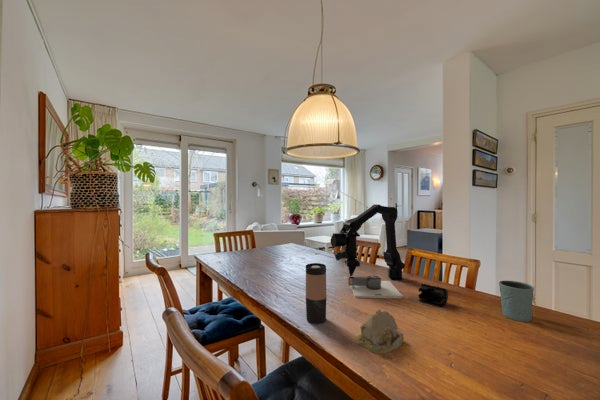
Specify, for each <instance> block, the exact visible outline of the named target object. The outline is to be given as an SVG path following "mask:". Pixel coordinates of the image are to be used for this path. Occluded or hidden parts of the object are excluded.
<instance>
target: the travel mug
mask: <svg viewBox="0 0 600 400" xmlns="http://www.w3.org/2000/svg"><path fill="white" fill-rule="evenodd" d="M305 309H306V310H305V313H306V320H307V322H308V323H309V324H312V325H320V324H321V325H322V324H324V323H325V322H326V320H327V266H326V264H324V263H319V262H313V263H308V264H306V265H305Z"/></svg>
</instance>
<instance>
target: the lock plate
mask: <svg viewBox="0 0 600 400" xmlns="http://www.w3.org/2000/svg"><path fill="white" fill-rule="evenodd" d="M350 288H351V291H352V295H353V297H354V299H355V298H359V299H361V298H362V299H404V298H403V297H404V296H403V294H402V293H401V292H400V291H399V290H398V289H397V288H396V287H395V286H394V284H393V283H392V282H391V281H390V280H381V288H380V289H376V290H375V289H369V288H367V287H366V286H350Z"/></svg>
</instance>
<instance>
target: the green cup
mask: <svg viewBox="0 0 600 400" xmlns="http://www.w3.org/2000/svg"><path fill="white" fill-rule="evenodd" d="M498 285H499V286H498V287H499V288H498V289H499V293H500V302H501V314H502V315H503V316H504V317H505V318H508V319H511V320H513V321H518V322H525V323H526V322H527V323H528V322H531V321H532V319H533V301H534V291H535V288H534V286H533V285H531V284H529V283H526V282H522V281H515V280H500V281H498Z"/></svg>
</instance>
